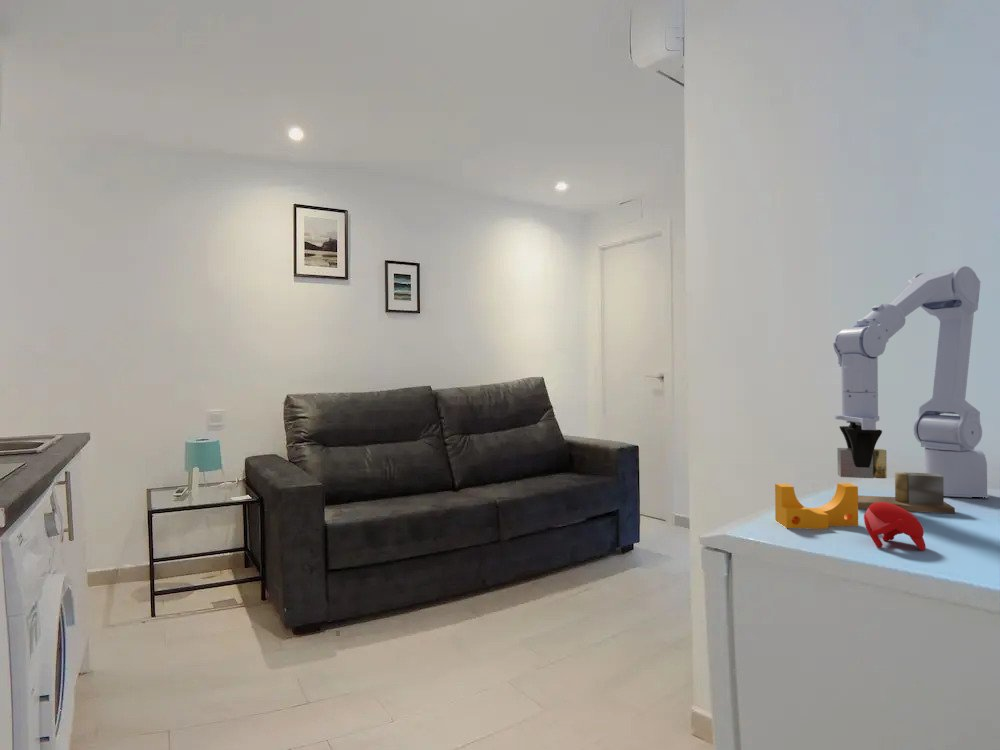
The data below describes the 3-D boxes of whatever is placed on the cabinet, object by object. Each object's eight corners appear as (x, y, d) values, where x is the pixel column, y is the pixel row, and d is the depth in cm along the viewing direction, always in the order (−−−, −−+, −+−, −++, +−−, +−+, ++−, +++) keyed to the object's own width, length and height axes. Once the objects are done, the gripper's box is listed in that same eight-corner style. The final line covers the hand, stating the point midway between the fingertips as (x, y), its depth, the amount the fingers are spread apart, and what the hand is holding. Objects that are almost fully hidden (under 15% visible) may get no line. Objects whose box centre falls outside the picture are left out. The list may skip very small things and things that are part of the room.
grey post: (884, 476, 111) (884, 449, 111) (888, 478, 108) (888, 451, 108) (837, 474, 114) (837, 447, 114) (840, 477, 111) (840, 449, 111)
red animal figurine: (853, 523, 86) (894, 507, 82) (858, 502, 91) (897, 486, 87) (891, 569, 85) (934, 555, 81) (894, 545, 90) (935, 531, 86)
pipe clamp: (786, 529, 96) (786, 489, 96) (775, 522, 100) (775, 483, 100) (864, 529, 95) (863, 488, 95) (849, 522, 99) (849, 483, 99)
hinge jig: (940, 504, 110) (940, 472, 110) (954, 513, 103) (954, 478, 103) (835, 499, 116) (834, 468, 116) (842, 507, 109) (842, 474, 109)
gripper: (828, 390, 119) (829, 459, 119) (842, 393, 106) (843, 471, 106) (869, 390, 117) (870, 460, 117) (889, 393, 103) (890, 472, 103)
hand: (860, 465), depth 111 cm, fingers closed on grey post, 3 cm apart
